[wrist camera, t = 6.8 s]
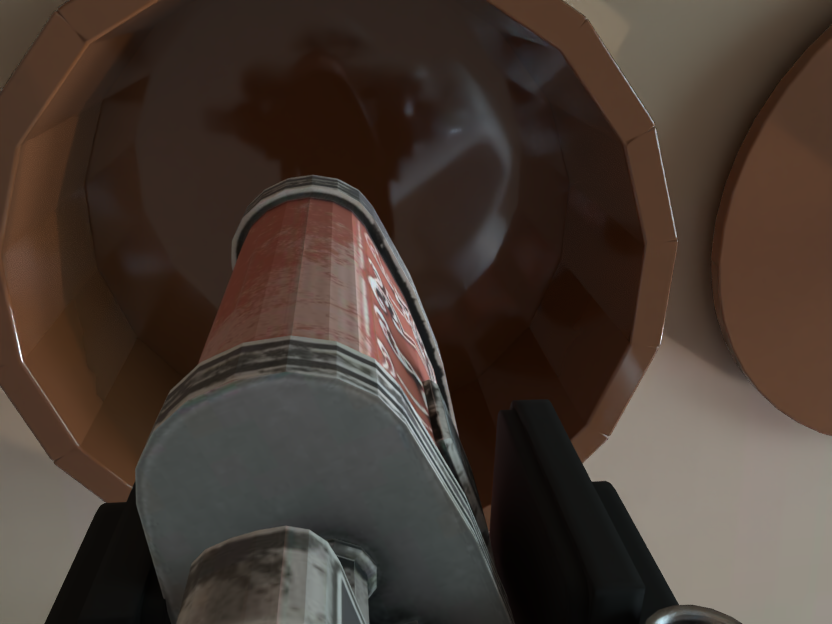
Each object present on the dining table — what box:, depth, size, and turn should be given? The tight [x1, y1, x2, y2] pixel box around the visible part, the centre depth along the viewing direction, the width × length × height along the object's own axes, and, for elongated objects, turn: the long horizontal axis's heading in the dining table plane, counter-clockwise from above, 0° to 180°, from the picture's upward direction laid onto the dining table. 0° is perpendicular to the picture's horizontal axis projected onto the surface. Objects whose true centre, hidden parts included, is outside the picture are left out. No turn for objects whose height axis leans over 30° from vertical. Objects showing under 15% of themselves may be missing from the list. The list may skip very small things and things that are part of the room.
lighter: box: [135, 175, 515, 624], centre depth 10 cm, size 8×3×10 cm, turn 16°
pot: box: [0, 0, 678, 531], centre depth 20 cm, size 16×16×6 cm
